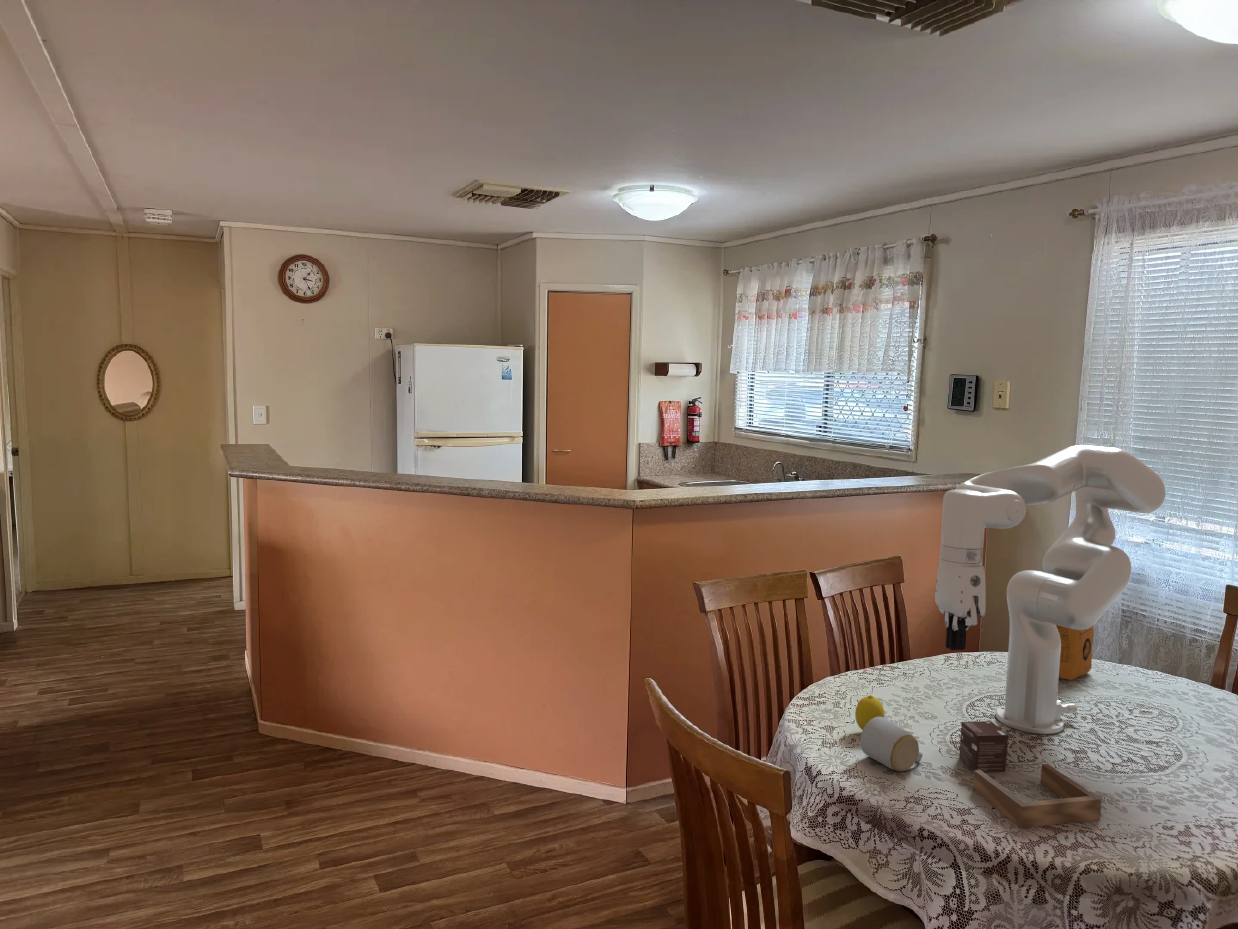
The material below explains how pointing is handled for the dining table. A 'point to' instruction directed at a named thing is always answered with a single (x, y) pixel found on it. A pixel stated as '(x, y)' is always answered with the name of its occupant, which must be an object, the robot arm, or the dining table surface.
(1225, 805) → the dining table surface
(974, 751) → the box
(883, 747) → the ceramic mug
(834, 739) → the dining table surface
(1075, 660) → the coffee package
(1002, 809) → the bay
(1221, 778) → the dining table surface
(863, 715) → the lemon
